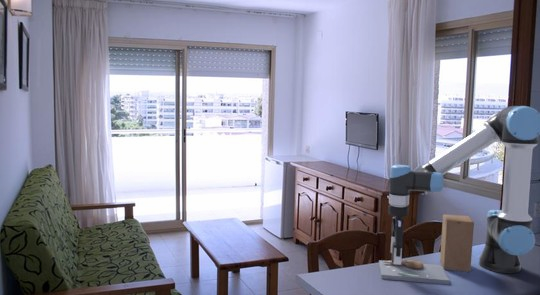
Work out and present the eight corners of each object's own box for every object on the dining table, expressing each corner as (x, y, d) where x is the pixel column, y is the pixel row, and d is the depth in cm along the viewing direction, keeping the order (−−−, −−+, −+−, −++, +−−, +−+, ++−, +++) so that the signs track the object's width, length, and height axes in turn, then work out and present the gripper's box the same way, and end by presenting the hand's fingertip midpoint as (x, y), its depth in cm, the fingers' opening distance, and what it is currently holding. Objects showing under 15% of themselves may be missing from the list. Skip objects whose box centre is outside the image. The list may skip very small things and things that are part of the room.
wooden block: (470, 272, 184) (474, 221, 182) (443, 269, 186) (446, 220, 184) (465, 263, 194) (468, 215, 192) (439, 261, 196) (442, 213, 194)
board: (441, 268, 187) (441, 264, 187) (449, 284, 172) (449, 279, 172) (378, 263, 191) (379, 259, 191) (381, 278, 176) (381, 274, 175)
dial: (421, 263, 188) (423, 240, 187) (424, 269, 181) (425, 246, 180) (382, 260, 190) (383, 237, 189) (383, 266, 184) (385, 243, 183)
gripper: (386, 197, 196) (383, 247, 199) (391, 211, 172) (388, 268, 174) (404, 198, 195) (402, 249, 198) (412, 213, 171) (409, 270, 173)
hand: (395, 258), depth 186 cm, fingers open, 13 cm apart
